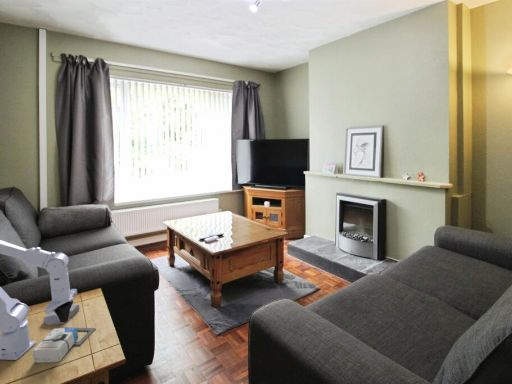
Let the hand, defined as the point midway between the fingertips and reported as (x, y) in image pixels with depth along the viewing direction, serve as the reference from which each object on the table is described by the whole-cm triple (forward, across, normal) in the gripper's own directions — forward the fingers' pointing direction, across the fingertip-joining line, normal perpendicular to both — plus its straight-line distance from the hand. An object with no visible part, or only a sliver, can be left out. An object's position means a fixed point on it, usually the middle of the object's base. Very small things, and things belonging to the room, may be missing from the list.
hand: (64, 321), depth 112 cm
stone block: (+8, +16, +13) cm, 22 cm away
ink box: (+5, 0, 0) cm, 5 cm away
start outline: (+8, +2, 0) cm, 8 cm away
